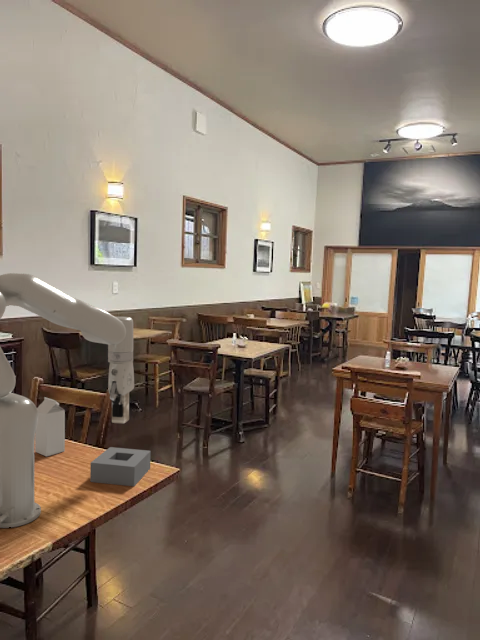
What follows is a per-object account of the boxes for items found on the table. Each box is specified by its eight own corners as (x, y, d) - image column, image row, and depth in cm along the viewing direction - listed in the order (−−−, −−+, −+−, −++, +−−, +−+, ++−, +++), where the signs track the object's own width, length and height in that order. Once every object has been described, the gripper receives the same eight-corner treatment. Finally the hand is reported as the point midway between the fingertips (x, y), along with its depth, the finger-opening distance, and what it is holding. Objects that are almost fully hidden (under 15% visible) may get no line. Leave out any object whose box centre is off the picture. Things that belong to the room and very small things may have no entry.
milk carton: (46, 457, 165) (46, 402, 164) (35, 452, 169) (35, 399, 168) (64, 451, 171) (65, 399, 169) (53, 447, 175) (53, 395, 173)
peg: (124, 423, 149) (124, 388, 148) (111, 422, 149) (111, 387, 148) (128, 419, 153) (129, 385, 152) (116, 418, 153) (116, 384, 152)
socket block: (134, 486, 144) (134, 466, 144) (90, 481, 146) (90, 462, 146) (150, 468, 158) (150, 450, 158) (109, 464, 160) (110, 447, 160)
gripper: (121, 362, 140) (121, 423, 142) (141, 353, 157) (141, 408, 158) (97, 360, 141) (97, 421, 143) (119, 352, 158) (119, 406, 159)
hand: (120, 414), depth 151 cm, fingers closed on peg, 4 cm apart
